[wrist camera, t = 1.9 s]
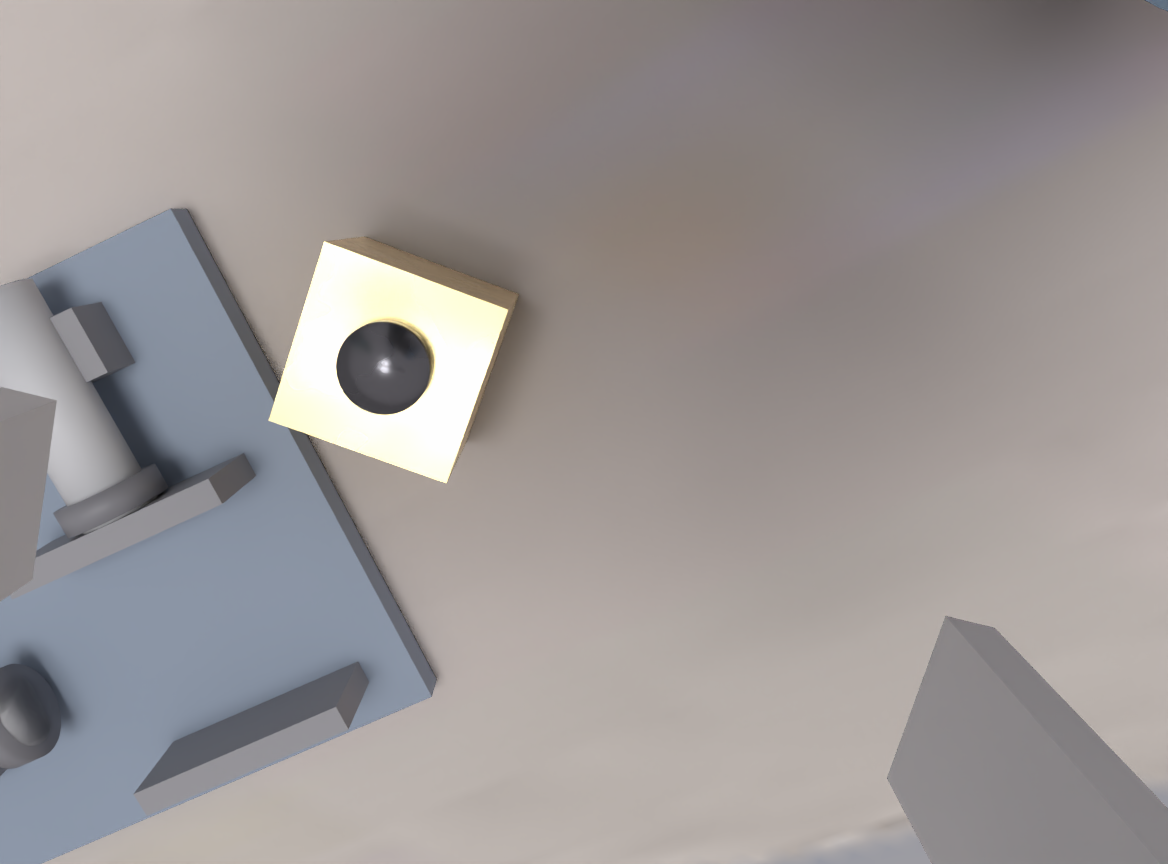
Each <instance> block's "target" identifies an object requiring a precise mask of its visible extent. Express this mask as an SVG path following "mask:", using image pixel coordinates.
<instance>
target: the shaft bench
mask: <svg viewBox="0 0 1168 864" xmlns="http://www.w3.org/2000/svg"><path fill="white" fill-rule="evenodd" d="M279 385H280V384H279V382H278V380H277V378H276V376H275V374H274V372H273V371H272V369H271V367H270V365H269V363H268V361H267V359H266V357H265V356H264V354H263V352H262V350H261V348H260V346H259V344H258V342H257V340H256V339H255V337H254V335H253V333H252V331H251V329H250V327H249V325H248V324H247V322H246V320H245V318H244V316H243V314H242V312H241V310H240V308H239V307H238V305H237V303H236V301H235V299H234V297H233V295H232V293H231V292H230V290H229V288H228V286H227V284H226V282H225V280H224V278H223V276H222V275H221V273H220V271H219V269H218V267H217V265H216V263H215V261H214V260H213V258H212V256H211V254H210V252H209V250H208V248H207V246H206V245H205V243H204V241H203V239H202V237H201V235H200V233H199V231H198V229H197V228H196V226H195V224H194V222H193V220H192V218H191V216H190V214H189V213H188V211H187V209H169V210H167V211H165V212H163V213H161V214H159V215H157V216H155V217H152V218H150V219H148V220H146V221H144V222H142V223H140V224H138V225H136V226H134V227H132V228H130V229H128V230H126V231H124V232H122V233H120V234H118V235H115V236H113V237H111V238H109V239H107V240H105V241H103V242H101V243H99V244H97V245H95V246H93V247H91V248H89V249H87V250H85V251H83V252H81V253H78V254H76V255H74V256H72V257H70V258H68V259H66V260H64V261H62V262H60V263H58V264H56V265H54V266H52V267H50V268H48V269H46V270H44V271H41V272H39V273H37V274H35V275H33V276H31V277H29V278H27V279H22V280H18V281H14V282H10V283H7V284H4V285H1V286H0V388H1V387H4V388H8V389H12V390H16V391H21V392H25V393H29V394H33V395H37V396H41V397H45V398H49V399H54V400H57V403H56V410H55V418H54V425H53V432H52V440H51V447H50V454H49V462H48V469H47V476H46V484H45V491H44V498H43V506H42V513H41V520H40V528H39V535H38V542H37V550H36V557H35V564H34V572H33V579H32V580H31V581H30V582H28V583H27V584H25V585H24V586H22V587H21V588H19V589H18V590H16V591H15V592H13V593H12V594H11V595H9V596H8V597H6V598H5V599H3V600H2V601H0V864H42V863H44V862H46V861H49V860H51V859H53V858H56V857H58V856H60V855H63V854H65V853H67V852H70V851H72V850H74V849H77V848H79V847H81V846H84V845H86V844H88V843H91V842H93V841H95V840H98V839H100V838H102V837H105V836H107V835H109V834H112V833H114V832H116V831H119V830H121V829H123V828H126V827H128V826H130V825H133V824H135V823H137V822H140V821H142V820H144V819H147V818H149V817H151V816H154V815H156V814H159V813H161V812H163V811H166V810H168V809H170V808H173V807H175V806H177V805H180V804H182V803H184V802H187V801H189V800H191V799H194V798H196V797H198V796H201V795H203V794H205V793H208V792H210V791H212V790H215V789H217V788H219V787H222V786H224V785H226V784H229V783H231V782H233V781H236V780H238V779H240V778H243V777H245V776H247V775H250V774H252V773H254V772H257V771H259V770H261V769H264V768H266V767H268V766H271V765H273V764H275V763H278V762H280V761H282V760H285V759H287V758H289V757H292V756H294V755H296V754H299V753H301V752H303V751H306V750H308V749H310V748H313V747H315V746H317V745H320V744H322V743H324V742H327V741H329V740H331V739H334V738H336V737H338V736H341V735H343V734H345V733H348V732H350V731H352V730H355V729H357V728H360V727H362V726H364V725H367V724H369V723H371V722H374V721H376V720H378V719H381V718H383V717H385V716H388V715H390V714H392V713H395V712H397V711H399V710H402V709H404V708H406V707H409V706H411V705H413V704H416V703H418V702H420V701H423V700H425V699H427V698H430V697H432V694H433V690H434V687H435V684H436V680H437V679H436V677H435V675H434V673H433V672H432V670H431V668H430V666H429V664H428V662H427V660H426V658H425V657H424V655H423V653H422V651H421V649H420V647H419V645H418V643H417V641H416V640H415V638H414V636H413V634H412V632H411V630H410V628H409V626H408V625H407V623H406V621H405V619H404V617H403V615H402V613H401V611H400V610H399V608H398V606H397V604H396V602H395V600H394V598H393V596H392V594H391V593H390V591H389V589H388V587H387V585H386V583H385V581H384V579H383V578H382V576H381V574H380V572H379V570H378V568H377V566H376V564H375V562H374V561H373V559H372V557H371V555H370V553H369V551H368V549H367V547H366V546H365V544H364V542H363V540H362V538H361V536H360V534H359V532H358V530H357V529H356V527H355V525H354V523H353V521H352V519H351V517H350V515H349V514H348V512H347V510H346V508H345V506H344V504H343V502H342V500H341V499H340V497H339V495H338V493H337V491H336V489H335V487H334V485H333V483H332V482H331V480H330V478H329V476H328V474H327V472H326V470H325V468H324V467H323V465H322V463H321V461H320V459H319V457H318V455H317V453H316V451H315V450H314V448H313V446H312V444H311V442H310V440H309V438H308V436H307V435H306V433H303V432H300V431H297V430H294V429H292V428H289V427H286V426H283V425H280V424H277V423H275V422H272V421H269V418H270V414H271V411H272V408H273V405H274V402H275V398H276V395H277V392H278V389H279Z"/></svg>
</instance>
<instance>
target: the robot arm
mask: <svg viewBox="0 0 1168 864" xmlns="http://www.w3.org/2000/svg"><path fill="white" fill-rule="evenodd" d="M1145 1H1147V2H1149V3H1151V4H1153V5H1155V6H1156V7H1158V8H1161V9H1163V10H1166V11H1168V0H1145ZM56 403H57V400H54V399H49V398H45V397H41V396H37V395H33V394H29V393H25V392H21V391H16V390H12V389H8V388H4V387H1V388H0V601H2V600H3V599H5V598H6V597H8V596H9V595H11V594H12V593H13V592H15V591H16V590H18V589H19V588H21V587H22V586H24V585H25V584H27V583H28V582H30V581H31V580H32V579H33V572H34V564H35V557H36V550H37V542H38V535H39V528H40V520H41V513H42V506H43V498H44V491H45V484H46V476H47V469H48V462H49V454H50V447H51V440H52V432H53V425H54V418H55V410H56ZM887 779H888V781H889V783H890V785H891V787H892V789H893V791H894V793H895V794H896V796H897V798H898V800H899V802H900V804H901V806H902V808H903V810H904V812H905V814H906V816H907V817H908V819H909V821H910V823H911V825H912V827H913V829H914V831H915V833H916V835H917V837H918V838H919V840H920V842H921V844H922V846H923V848H924V850H925V852H926V854H927V856H928V857H929V859H930V861H931V863H932V864H1168V808H1167V807H1166V806H1165V805H1164V804H1163V803H1162V802H1161V801H1160V799H1159V798H1158V797H1157V796H1156V795H1155V794H1154V793H1153V792H1152V791H1151V790H1150V789H1149V788H1148V787H1147V786H1146V785H1145V784H1144V783H1143V782H1142V781H1141V780H1140V779H1139V778H1138V777H1137V776H1136V774H1135V773H1134V772H1133V771H1132V770H1131V769H1130V768H1129V767H1128V766H1127V765H1126V764H1125V763H1124V762H1123V761H1122V760H1121V759H1120V758H1119V757H1118V756H1117V755H1116V754H1115V753H1114V752H1113V751H1112V749H1111V748H1110V747H1109V746H1108V745H1107V744H1106V743H1105V742H1104V741H1103V740H1102V739H1101V738H1100V737H1099V736H1098V735H1097V734H1096V733H1095V732H1094V731H1093V730H1092V729H1091V728H1090V727H1089V726H1088V724H1087V723H1086V722H1085V721H1084V720H1083V719H1082V718H1081V717H1080V716H1079V715H1078V714H1077V713H1076V712H1075V711H1074V710H1073V709H1072V708H1071V707H1070V706H1069V705H1068V704H1067V703H1066V702H1065V701H1064V699H1063V698H1062V697H1061V696H1060V695H1059V694H1058V693H1057V692H1056V691H1055V690H1054V689H1053V688H1052V687H1051V686H1050V685H1049V684H1048V683H1047V682H1046V681H1045V680H1044V679H1043V678H1042V677H1041V676H1040V674H1039V673H1038V672H1037V671H1036V670H1035V669H1034V668H1033V667H1032V666H1031V665H1030V664H1029V663H1028V662H1027V661H1026V660H1025V659H1024V658H1023V657H1022V656H1021V655H1020V654H1019V653H1018V652H1017V651H1016V649H1015V648H1014V647H1013V646H1012V645H1011V644H1010V643H1009V642H1008V641H1007V640H1006V639H1005V638H1004V637H1003V636H1002V635H1001V634H1000V633H999V632H998V631H997V630H996V629H995V628H993V627H989V626H985V625H981V624H977V623H973V622H968V621H964V620H960V619H956V618H952V617H948V616H945V619H944V622H943V625H942V627H941V630H940V633H939V636H938V638H937V641H936V644H935V647H934V650H933V652H932V655H931V658H930V661H929V663H928V666H927V669H926V672H925V674H924V677H923V680H922V683H921V685H920V688H919V691H918V694H917V696H916V699H915V702H914V705H913V707H912V710H911V713H910V716H909V719H908V721H907V724H906V727H905V730H904V732H903V735H902V738H901V741H900V743H899V746H898V749H897V752H896V754H895V757H894V760H893V763H892V765H891V768H890V771H889V774H888V777H887Z"/></svg>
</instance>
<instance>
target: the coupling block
mask: <svg viewBox="0 0 1168 864" xmlns="http://www.w3.org/2000/svg"><path fill="white" fill-rule="evenodd" d="M518 296H519V294H517V293H514V292H512V291H509V290H506V289H504V288H501V287H498V286H496V285H493V284H490V283H488V282H485V281H482V280H479V279H477V278H474V277H471V276H469V275H466V274H463V273H461V272H458V271H455V270H453V269H450V268H447V267H445V266H442V265H439V264H437V263H434V262H431V261H429V260H426V259H423V258H420V257H418V256H415V255H412V254H410V253H407V252H404V251H402V250H399V249H396V248H394V247H391V246H388V245H386V244H383V243H380V242H378V241H375V240H372V239H370V238H367V237H358V238H349V239H341V240H333V241H325V242H324V244H323V247H322V251H321V254H320V257H319V260H318V263H317V267H316V270H315V273H314V276H313V279H312V283H311V286H310V289H309V292H308V296H307V299H306V302H305V305H304V308H303V312H302V315H301V318H300V321H299V324H298V328H297V331H296V334H295V337H294V341H293V344H292V347H291V350H290V353H289V357H288V360H287V363H286V366H285V369H284V373H283V376H282V379H281V382H280V385H279V389H278V392H277V395H276V398H275V402H274V405H273V408H272V411H271V414H270V418H269V421H272V422H275V423H277V424H280V425H283V426H286V427H289V428H292V429H294V430H297V431H300V432H303V433H306V434H309V435H311V436H314V437H317V438H320V439H323V440H325V441H328V442H331V443H334V444H337V445H340V446H342V447H345V448H348V449H351V450H354V451H357V452H359V453H362V454H365V455H368V456H371V457H374V458H376V459H379V460H382V461H385V462H388V463H390V464H393V465H396V466H399V467H402V468H405V469H407V470H410V471H413V472H416V473H419V474H422V475H424V476H427V477H430V478H433V479H436V480H438V481H441V482H444V483H447V481H448V479H449V477H450V475H451V473H452V471H453V469H454V467H455V465H456V463H457V460H458V458H459V456H460V454H461V452H462V450H463V448H464V446H465V444H466V442H467V439H468V436H469V433H470V430H471V428H472V425H473V422H474V419H475V416H476V414H477V411H478V408H479V405H480V402H481V400H482V397H483V394H484V391H485V388H486V386H487V383H488V380H489V377H490V374H491V372H492V369H493V366H494V363H495V360H496V358H497V355H498V352H499V349H500V346H501V344H502V341H503V338H504V335H505V332H506V330H507V327H508V324H509V321H510V318H511V316H512V313H513V310H514V307H515V304H516V302H517V299H518Z"/></svg>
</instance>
